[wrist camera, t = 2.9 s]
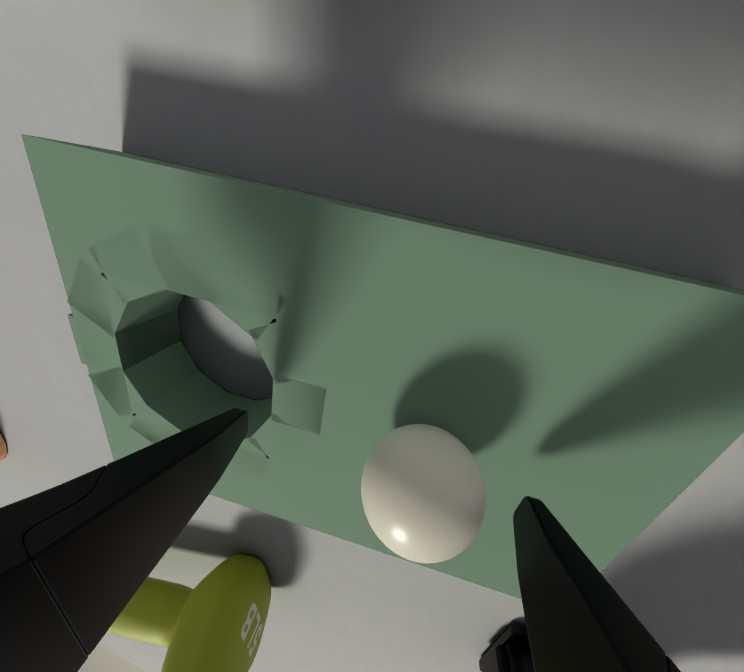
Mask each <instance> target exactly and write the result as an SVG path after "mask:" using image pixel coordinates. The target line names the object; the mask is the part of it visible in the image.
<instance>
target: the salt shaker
mask: <svg viewBox="0 0 744 672" xmlns="http://www.w3.org/2000/svg"><path fill="white" fill-rule="evenodd" d="M6 454H7V449H6V444H5V442H4V440H3V438H2V436H1V434H0V461H1V460H3V459H4V458H5V456H6Z"/></svg>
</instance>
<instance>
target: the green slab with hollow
mask: <svg viewBox="0 0 744 672" xmlns="http://www.w3.org/2000/svg"><path fill="white" fill-rule="evenodd" d="M21 135H22V138H23V142H24V145H25V149H26V152H27V156H28V159H29V163H30V166H31V170H32V173H33V177H34V180H35V184H36V187H37V191H38V194H39V198H40V201H41V205H42V209H43V212H44V216H45V219H46V223H47V226H48V230H49V233H50V237H51V240H52V244H53V247H54V251H55V254H56V258H57V261H58V265H59V268H60V272H61V275H62V279H63V282H64V286H65V290H66V293H67V297H68V300H67V302H68V303H69V304H70V307H71V311H72V314H69V315H68V318H69V322H70V325H71V328H72V332H73V335H74V339H75V342H76V346H77V349H78V352H79V356H80V359H81V363H83V364H87V367H88V371H89V374H90V375H88V376H89V377H90V379H91V381H92V385H93V388H94V392H95V395H96V399H97V402H98V406H99V409H100V413H101V416H102V420H103V423H104V427H105V430H106V434H107V437H108V441H109V444H110V448H111V452H112V455H113V459H114V461H116V460H118V459H120V458H123V457H125V456H127V455H129V454H132V453H134V452H136V451H138V450H141V449H143V448H145V447H147V446H149V445H152V444H154V443H156V442H158V441H161V440H163V439H165V438H167V437H170V436H172V435H174V434H176V433H179V432H181V431H183V430H185V429H188V428H190V427H192V426H194V425H197V424H199V423H201V422H203V421H206V420H208V419H210V418H212V417H215V416H217V415H219V414H221V413H223V412H226V411H228V410H230V409H232V408H241V409H244V410H247V411H248V432H247V435H246V437H245V438H244V440H243V442H242V443H241V445H240V447H239V448H238V450H237V452H236V453H235V455H234V457H233V458H232V460H231V462H230V463H229V465H228V467H227V468H226V470H225V472H224V473H223V475H222V476H221V478H220V480H219V481H218V482H217V484H216V485H215V487H214V488H213V489H212V491H211V492H210V493H209V494H210V495H213V496H216V497H219V498H222V499H225V500H228V501H231V502H234V503H237V504H240V505H243V506H246V507H249V508H252V509H255V510H258V511H261V512H264V513H267V514H270V515H273V516H276V517H279V518H282V519H285V520H288V521H291V522H294V523H297V524H300V525H303V526H306V527H309V528H312V529H314V530H317V531H320V532H323V533H326V534H329V535H332V536H335V537H338V538H341V539H344V540H347V541H350V542H353V543H356V544H359V545H362V546H365V547H368V548H371V549H374V550H377V551H380V552H383V553H386V554H389V555H392V556H395V557H398V558H401V559H404V560H407V559H405V558H403V557H401V556H399V555H397V554H396V553H394V552H393V551H391V550H390V549H389V548H388V547H386V545H385V544H384V543H383V542H382V541H381V540H380V539H379V538H378V537H377V535H376V534H375V532H374V531H373V529H372V528H371V526H370V524H369V522H368V519H367V517H366V514H365V511H364V508H363V503H362V497H361V479H362V473H363V468H364V466H365V463H366V460H367V457H368V456H369V454H370V452H371V450H372V449H373V447H374V446H375V445H376V444H377V442H378V441H379V440H380V439H381V438H382V437H384V436H385V435H386V434H387V433H389V432H391V431H392V430H394V429H397V428H399V427H402V426H405V425H410V424H427V425H432V426H436V427H439V428H441V429H443V430H445V431H447V432H449V433H451V434H452V435H454V436H455V437H456V438H458V439H459V440H460V441H461V442H462V443H463V444H464V445H465V446H466V447H467V448H468V450H469V451H470V452H471V454H472V455H473V457H474V458H475V460H476V462H477V464H478V466H479V468H480V471H481V473H482V477H483V480H484V485H485V492H486V505H485V513H484V517H483V522H482V524H481V527H480V529H479V531H478V533H477V535H476V537H475V538H474V540H473V541H472V542H471V544H470V545H469V546H468V547H467V548H466V549H465V550H464V551H463V552H461V553H460V554H458V555H457V556H455V557H453V558H451V559H449V560H446V561H443V562H438V563H429V564H427V563H418V562H414V561H410V560H407V561H410V562H413V563H416V564H419V565H422V566H425V567H428V568H431V569H434V570H437V571H440V572H443V573H446V574H449V575H452V576H455V577H458V578H461V579H464V580H466V581H469V582H472V583H475V584H478V585H481V586H484V587H487V588H490V589H493V590H496V591H499V592H502V593H505V594H508V595H511V596H514V597H517V598H520V599H522V598H521V592H520V587H519V580H518V573H517V563H516V551H515V539H514V527H513V514H514V511H515V510H516V508H517V507H518V505H519V504H520V502H521V501H522V499H523V498H524V497H525V496H530V497H534V498H537V499H540V500H541V501H542V502H543V503H544V504H545V505H546V507H547V508H548V509H549V510H550V511H551V513H552V514H553V515H554V516H555V518H556V519H557V520H558V521H559V523H560V524H561V525H562V526H563V527H564V529H565V530H566V531H567V532H568V534H569V535H570V536H571V537H572V539H573V540H574V541H575V542H576V543H577V545H578V546H579V547H580V548H581V550H582V551H583V552H584V553H585V555H586V556H587V557H588V558H589V559H590V561H591V562H592V563H593V564H594V566H595V567H596V568H597V569H598V571H599V572H601V571H602V570H603V569H605V568H606V567H607V566H608V565H609V564H610V563H611V562H612V561H613V560H614V559H615V558H616V557H617V556H618V555H619V554H620V553H621V552H622V551H623V550H624V549H625V548H626V547H627V546H628V545H629V544H630V543H631V542H632V541H633V540H634V539H635V538H636V537H637V536H638V535H639V534H640V533H641V532H642V531H643V530H644V529H645V528H646V527H647V526H648V525H649V524H650V523H651V522H652V521H653V520H654V519H655V518H656V517H658V516H659V515H660V514H661V513H662V512H663V511H664V510H665V509H666V508H667V507H668V506H669V505H670V504H671V503H672V502H673V501H674V500H675V499H676V498H677V497H678V496H679V495H680V494H681V493H682V492H683V491H684V490H685V489H686V488H687V487H688V486H689V485H690V484H691V483H692V482H693V481H694V480H695V479H696V478H697V477H698V476H699V475H700V474H701V473H702V472H703V471H704V470H705V469H706V468H707V467H708V466H709V465H711V464H712V463H713V462H714V461H715V460H716V459H717V458H718V457H719V456H720V455H721V454H722V453H723V452H724V451H725V450H726V449H727V448H728V447H729V446H730V445H731V444H732V443H733V442H734V441H735V440H736V439H737V438H738V437H739V436H740V435H741V434H742V433H743V432H744V290H740V289H737V288H733V287H728V286H724V285H719V284H715V283H710V282H706V281H701V280H697V279H692V278H688V277H683V276H679V275H674V274H670V273H665V272H661V271H656V270H652V269H647V268H643V267H638V266H634V265H629V264H625V263H620V262H616V261H611V260H607V259H602V258H598V257H593V256H589V255H584V254H580V253H575V252H570V251H566V250H561V249H557V248H552V247H548V246H543V245H539V244H534V243H530V242H525V241H521V240H516V239H512V238H507V237H503V236H498V235H494V234H489V233H485V232H480V231H476V230H471V229H467V228H462V227H458V226H453V225H449V224H444V223H440V222H435V221H431V220H426V219H422V218H417V217H412V216H408V215H403V214H399V213H394V212H390V211H385V210H381V209H376V208H372V207H367V206H363V205H358V204H354V203H349V202H345V201H340V200H336V199H331V198H327V197H322V196H318V195H313V194H309V193H304V192H300V191H295V190H291V189H286V188H282V187H277V186H273V185H268V184H264V183H259V182H254V181H250V180H245V179H241V178H236V177H232V176H227V175H223V174H218V173H214V172H209V171H205V170H200V169H196V168H191V167H187V166H182V165H178V164H173V163H169V162H164V161H160V160H155V159H151V158H146V157H142V156H137V155H133V154H128V153H124V152H119V151H113V150H107V149H102V148H96V147H91V146H85V145H79V144H74V143H68V142H63V141H57V140H51V139H46V138H40V137H35V136H29V135H23V134H21ZM184 295H187V296H191V297H195V298H199V299H202V300H206V301H210V302H211V303H212V304H213V305H215V306H216V307H217V308H218V309H219V310H221V311H222V312H223V313H224V314H225V315H227V316H228V317H229V318H230V319H231V320H233V321H234V322H235V323H236V324H237V325H239V326H240V327H241V328H242V329H243V330H245V331H246V332H247V333H248V334H249V335H251V336H252V338H253V340H254V342H255V344H256V346H257V348H258V350H259V352H260V354H261V356H262V358H263V360H264V362H265V364H266V366H267V368H268V370H269V372H270V374H271V376H272V378H273V394H272V398H267V399H262V400H257V401H256V400H253V399H249V398H246V397H242V396H239V395H236V394H232V393H229V392H226V391H224V390H223V389H222V388H221V387H219V386H218V385H217V384H216V383H214V382H213V381H212V380H210V379H209V378H208V377H207V376H205V375H204V374H203V373H202V372H200V371H199V370H198V368H197V367H196V365H195V363H194V362H193V360H192V358H191V357H190V355H189V353H188V352H187V350H186V348H185V347H184V345H183V343H182V342H181V337H180V328H179V319H178V310H177V308H178V306H179V305H180V303H181V301H182V299H183V297H184Z"/></svg>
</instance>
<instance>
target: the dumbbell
mask: <svg viewBox="0 0 744 672" xmlns="http://www.w3.org/2000/svg"><path fill="white" fill-rule="evenodd" d="M270 599H271V584H270V581H269V578H268V575H267V572H266V569H265V567H264V565H263V563H262V562H261V561H260V559H258V558H256V557H253V556H248V555H234V556H231V557H229V558H227V559H226V560H225V561H223V562H222V563H221V564H219V565H218V566H217V567H216V568H215V569H214V570H213V571H211V572H210V573H209V574H208V575H207V576H206V577H205V578H204V579H203V580H202V581H201V582H200V583H199V584H198V585H197V586H196V587H195V588H194V589H192V588H189V587H187V586H184V585H181V584H177V583H172V582H168V581H164V580H160V579H155V578H151V577H147V578H146V580H145V581H144V582H143V584H142V585H141V586H140V588H139V589H138V590H137V592H136V593H135V594H134V596H133V597H132V598H131V600H130V601H129V602H128V604H127V605H126V607H125V608H124V609H123V611H122V612H121V613H120V615H119V616H118V617H117V619H116V620H115V621H114V623H113V624H112V625H111V627H110V628H109V629H108V631H109V632H111V633H114V634H116V635H119V636H122V637H125V638H129V639H132V640H136V641H140V642H144V643H148V644H154V645H162V646H166V647H168V650H167V653H166V656H165V660H164V663H163V667H162V671H161V672H248V670H249V669H250V667H251V665H252V663H253V661H254V658H255V656H256V653H257V650H258V647H259V644H260V641H261V637H262V634H263V630H264V626H265V622H266V618H267V614H268V609H269V605H270Z"/></svg>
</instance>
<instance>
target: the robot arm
mask: <svg viewBox="0 0 744 672" xmlns="http://www.w3.org/2000/svg"><path fill="white" fill-rule="evenodd" d="M247 432H248V411H247V410H244V409H241V408H232V409H230V410H228V411H226V412H223V413H221V414H219V415H217V416H215V417H212V418H210V419H208V420H206V421H203V422H201V423H199V424H197V425H194V426H192V427H190V428H188V429H185V430H183V431H181V432H179V433H176V434H174V435H172V436H170V437H167V438H165V439H163V440H161V441H158V442H156V443H154V444H152V445H149V446H147V447H145V448H143V449H141V450H138V451H136V452H134V453H132V454H129V455H127V456H125V457H123V458H120V459H118V460H116V461H114V462H111V463H109V464H108V465H107V466H102V467H100V468H98V469H95V470H93V471H91V472H89V473H86V474H84V475H82V476H79V477H77V478H75V479H72V480H70V481H68V482H65V483H63V484H61V485H58V486H56V487H53V488H51V489H48V490H46V491H43V492H41V493H38V494H36V495H33V496H31V497H28V498H25V499H23V500H20V501H18V502H15V503H12V504H10V505H7V506H4V507H2V508H0V672H78V670H79V669H80V667H81V666H82V665H83V663H84V662H85V661H86V659H87V658H88V655H90V654H91V652H92V651H93V650H94V648H95V647H96V645H97V644H98V643H99V642H100V640H101V639H102V638H103V636H104V635H105V633H106V632H107V631H108V629H109V628H110V627H111V625H112V624H113V623H114V621H115V620H116V619H117V617H118V616H119V615H120V613H121V612H122V611H123V609H124V608H125V607H126V605H127V604H128V602H129V601H130V600H131V598H132V597H133V596H134V594H135V593H136V592H137V590H138V589H139V588H140V586H141V585H142V584H143V582H144V581H145V580H146V578H147V577H148V576H149V574H150V573H151V571H152V570H153V569H154V567H155V566H156V565H157V563H158V562H159V561H160V559H161V558H162V557H163V555H164V554H165V553H166V551H167V550H168V549H169V547H170V546H171V545H172V543H173V542H174V540H175V539H176V538H177V536H178V535H179V534H180V532H181V531H182V530H183V528H184V527H185V526H186V524H187V523H188V522H189V520H190V519H191V518H192V516H193V515H194V514H195V512H196V511H197V509H198V508H199V507H200V505H201V504H202V503H203V501H204V500H205V499H206V497H207V496H208V495H209V493H210V492H211V491H212V489H213V488H214V487H215V485H216V484H217V482H218V481H219V480H220V478H221V476H222V475H223V473H224V472H225V470H226V468H227V467H228V465H229V463H230V462H231V460H232V458H233V457H234V455H235V453H236V452H237V450H238V448H239V447H240V445H241V443H242V442H243V440H244V438H245V437H246V435H247ZM513 527H514V539H515V551H516V563H517V573H518V580H519V587H520V592H521V598H522V603H523V609H524V614H525V620H526V625H527V627H524V626H521V625H511V626H510V627H509V628H508V629H507V630H506V631H505V632H504V633H503V634H502V636H501V637H500V638H499V639H498V640H497V641H496V642H495V643H494V644H493V646H492V647H491V648H490V649H489V650H488V651H487V652H486V653H485V654H484V656H483V657H482V658H481V659H480V660H479V666H480V670H481V671H482V672H681V671H680V670H679V669H678V668H677V666H676V665H675V664H674V663H673V661H672V660H671V659H670V658H669V657H668V656H665V652H664V651H663V649H662V648H661V647H660V646H659V644H658V643H657V642H656V641H655V639H654V638H653V637H652V636H651V635H650V633H649V632H648V631H647V630H646V628H645V627H644V626H643V625H642V623H641V622H640V621H639V620H638V619H637V617H636V616H635V615H634V614H633V612H632V611H631V610H630V609H629V607H628V606H627V605H626V604H625V603H624V601H623V600H622V599H621V598H620V596H619V595H618V594H617V593H616V591H615V590H614V589H613V588H612V587H611V585H610V584H609V583H608V582H607V580H606V579H605V578H604V577H603V575H602V574H601V573H600V572H599V571H598V569H597V568H596V567H595V566H594V564H593V563H592V562H591V561H590V559H589V558H588V557H587V556H586V555H585V553H584V552H583V551H582V550H581V548H580V547H579V546H578V545H577V543H576V542H575V541H574V540H573V539H572V537H571V536H570V535H569V534H568V532H567V531H566V530H565V529H564V527H563V526H562V525H561V524H560V523H559V521H558V520H557V519H556V518H555V516H554V515H553V514H552V513H551V511H550V510H549V509H548V508H547V507H546V505H545V504H544V503H543V502H542V501H541V500H540V499H537V498H534V497H530V496H525V497H524V498H523V499H522V501H521V502H520V504H519V505H518V507H517V508H516V510H515V511H514V514H513Z"/></svg>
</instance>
